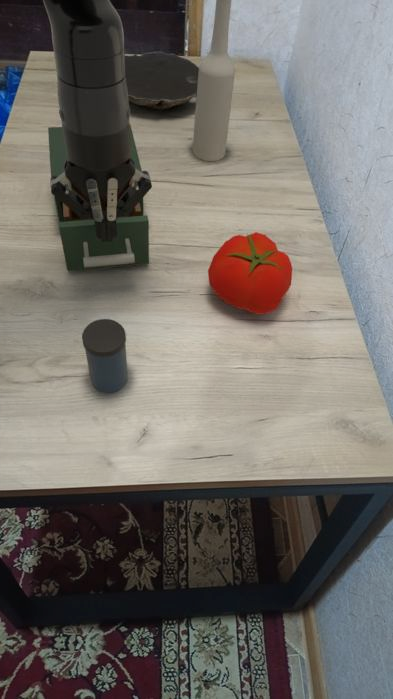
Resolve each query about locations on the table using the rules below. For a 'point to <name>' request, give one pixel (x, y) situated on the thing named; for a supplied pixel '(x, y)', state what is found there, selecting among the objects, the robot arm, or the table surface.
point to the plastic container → (106, 355)
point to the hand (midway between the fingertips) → (106, 238)
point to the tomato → (250, 273)
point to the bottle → (214, 91)
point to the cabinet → (60, 157)
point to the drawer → (90, 250)
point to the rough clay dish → (160, 80)
